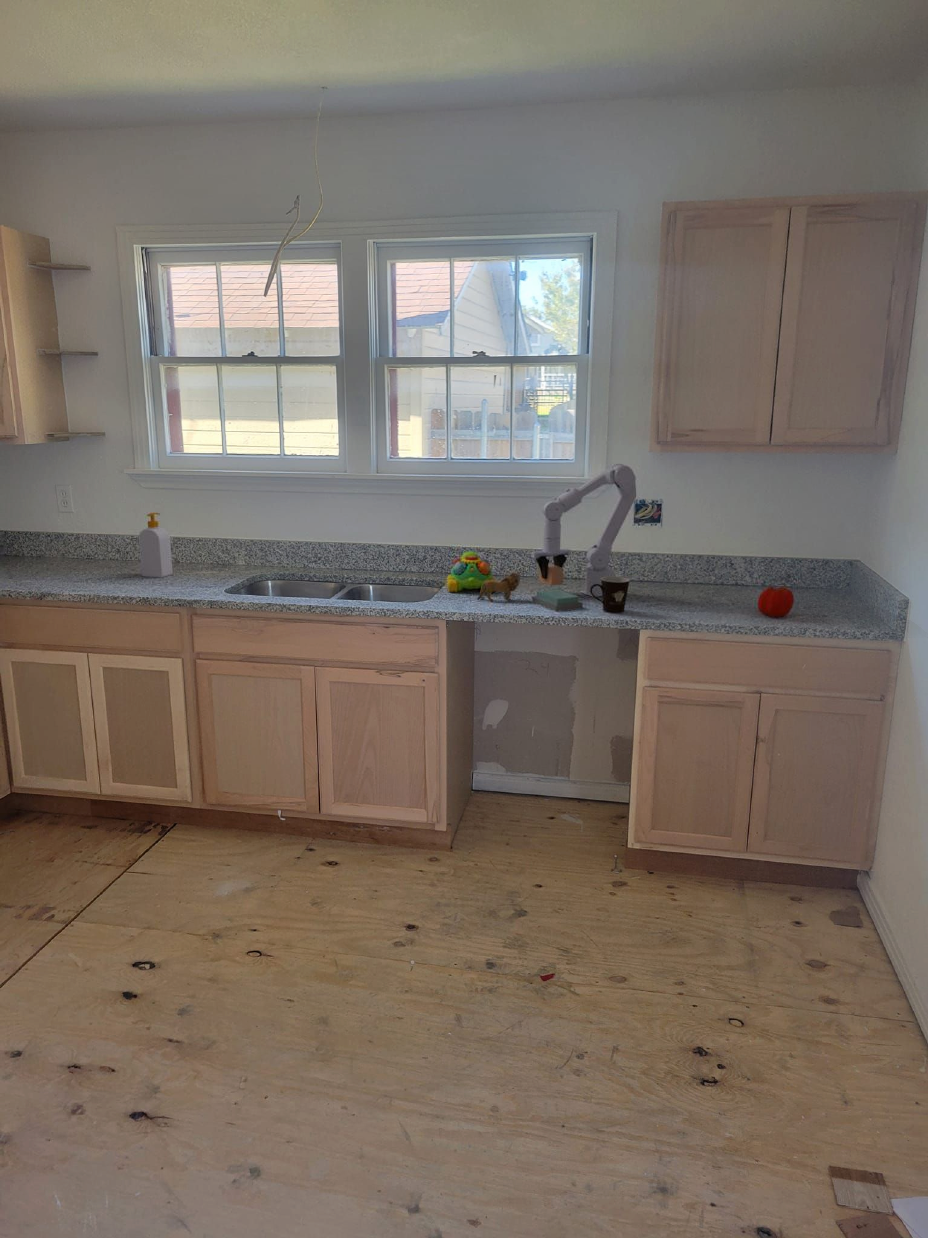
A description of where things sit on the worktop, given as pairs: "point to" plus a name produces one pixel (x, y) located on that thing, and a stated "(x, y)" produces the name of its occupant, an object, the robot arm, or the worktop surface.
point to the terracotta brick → (552, 575)
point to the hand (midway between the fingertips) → (550, 577)
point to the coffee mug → (613, 593)
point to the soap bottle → (155, 550)
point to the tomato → (775, 601)
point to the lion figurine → (500, 586)
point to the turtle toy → (469, 573)
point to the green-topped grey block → (557, 600)
